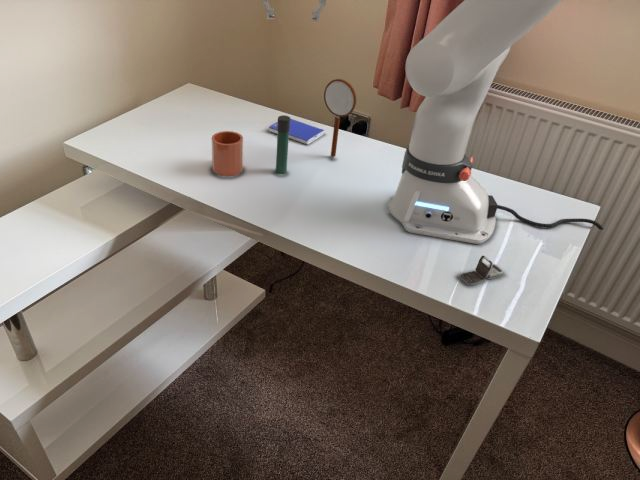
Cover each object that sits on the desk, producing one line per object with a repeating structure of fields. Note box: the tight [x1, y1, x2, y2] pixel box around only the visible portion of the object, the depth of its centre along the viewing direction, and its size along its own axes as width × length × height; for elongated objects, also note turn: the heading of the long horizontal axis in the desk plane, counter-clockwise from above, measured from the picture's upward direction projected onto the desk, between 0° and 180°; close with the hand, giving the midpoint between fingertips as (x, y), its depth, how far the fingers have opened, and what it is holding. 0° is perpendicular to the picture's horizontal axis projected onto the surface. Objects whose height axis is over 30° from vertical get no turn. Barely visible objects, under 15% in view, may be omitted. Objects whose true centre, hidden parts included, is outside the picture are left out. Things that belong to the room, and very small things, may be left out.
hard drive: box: [268, 118, 325, 145], centre depth 154 cm, size 2×8×12 cm
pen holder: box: [211, 130, 244, 177], centre depth 136 cm, size 7×7×8 cm
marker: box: [275, 115, 291, 175], centre depth 133 cm, size 3×3×14 cm
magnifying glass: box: [323, 78, 357, 160], centre depth 138 cm, size 9×2×20 cm, turn 50°
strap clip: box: [459, 255, 505, 286], centre depth 108 cm, size 8×3×4 cm, turn 114°
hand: (292, 19), depth 121 cm, fingers open, 8 cm apart
